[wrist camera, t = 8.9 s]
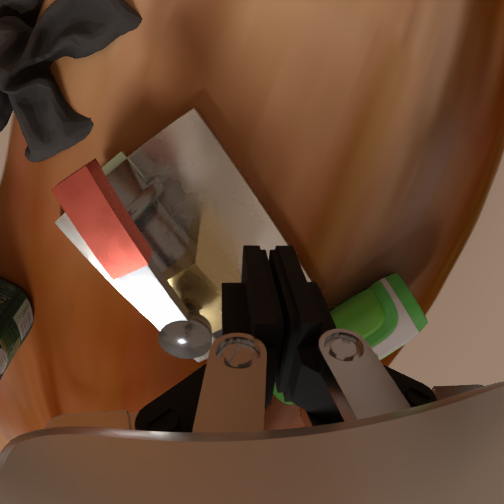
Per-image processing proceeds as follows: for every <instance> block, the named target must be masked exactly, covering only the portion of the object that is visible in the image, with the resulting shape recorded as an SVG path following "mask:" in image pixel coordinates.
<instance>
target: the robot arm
mask: <svg viewBox="0 0 504 504" xmlns="http://www.w3.org/2000/svg"><path fill="white" fill-rule="evenodd" d="M275 384H276V389H277V393H283V396H284V401H285V402H292V403H294V404H296V405H297V406H299V407H300V410H299V411H300V415H301V418H302V420H303V423H304V425H305V427H302V428H293V429H282V430H270V431H264V411H265V409H266V408H267V407H268V406H269V405H270V404H271V399H272V394H273V391H274V385H275ZM0 504H504V382H499V383H494V384H491V385H487V386H483V385H459V386H434V387H433V388H432V390H431V389H430V388H429V387H427V386H426V385H424V384H423V383H420V382H418V381H416V380H414V379H412V378H410V377H408V376H406V375H404V374H401V373H399V372H397V371H395V370H393V369H391V368H389V367H387V366H385V365H383V364H382V363H381V361H380V360H379V359H378V357H377V356H376V354H375V353H374V351H373V350H372V348H371V347H370V346H369V344H368V343H367V341H366V340H365V339H364V338H363V337H362V336H361V335H359V334H358V333H356V332H354V331H351V330H348V329H341V328H340V329H337V328H336V325H335V323H334V321H333V318H332V316H331V314H330V311H329V309H328V307H327V305H326V302H325V300H324V298H323V295H322V293H321V291H320V289H319V286H318V284H317V283H316V282H307V280H306V277H305V275H304V272H303V270H302V268H301V265H300V263H299V260H298V258H297V255H296V253H295V251H294V248H293V246H276V247H275V250H270V252H269V260H268V256H267V252H266V250H261V249H260V245H243V257H242V279H241V283H222V336H221V337H219V338H217V339H216V340H215V341H214V342H213V344H212V346H211V348H210V351H209V356H208V360H207V363H206V364H205V365H204V366H202V367H201V368H199V369H198V370H197V371H195V372H194V373H192V374H191V375H190V376H188V377H187V378H185V379H184V380H182V381H181V382H180V383H178V384H177V385H175V386H174V387H172V388H171V389H169V390H168V391H167V392H165V393H164V394H162V395H161V396H159V397H158V398H156V399H155V400H153V401H152V402H150V403H149V404H147V405H146V406H145V407H144V408H142V409H141V410H140V411H139V412H138V413H128V411H127V410H123V411H113V412H101V413H86V414H65V415H60V416H57V417H55V418H53V419H52V420H50V422H49V423H48V424H47V426H46V428H45V429H40V430H35V431H31V432H28V433H25V434H22V435H19V436H17V437H16V438H14V439H12V440H11V441H10V442H9V443H8V444H7V445H6V446H5V447H4V449H3V450H2V451H1V453H0Z"/></svg>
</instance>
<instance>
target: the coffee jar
mask: <svg viewBox="0 0 504 504" xmlns="http://www.w3.org/2000/svg"><path fill="white" fill-rule="evenodd" d="M32 325H33V310H32V306H31V303H30V301H29V299H28V297H27V296H26V294H25V293H24V291H23V290H22V289H20V288H19V287H17V286H16V285H14V284H12V283H10V282H7V281H5V280H3V279H0V379H1V377H2V376H3V374H4V372H5V370H6V368H7V367H8V365H9V363H10V362H11V360H12V358H13V357H14V355H15V354H16V352H17V351H18V349H19V348H20V346H21V345H22V343H23V341H24V340H25V338H26V337H27V335H28V333H29V332H30V330H31V328H32Z"/></svg>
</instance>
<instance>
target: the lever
mask: <svg viewBox="0 0 504 504" xmlns="http://www.w3.org/2000/svg"><path fill="white" fill-rule="evenodd" d="M52 192H53V193H54V195H55V197H56V198H57V200H58V202H59V203H60V205H61V206H62V208H63V209H64V211H65V213H66V214H67V216H68V217H69V219H70V220H71V222H72V223H73V225H74V226H75V228H76V229H77V231H78V232H79V234H80V235H81V237H82V238H83V240H84V241H85V243H86V244H87V245H88V247H89V248H90V250H91V251H92V252H93V254H94V255H95V257H96V258H97V259H98V261H99V262H100V264H101V265H102V266H103V268H104V269H105V270H106V272H107V273H108V274H109V276H110V277H111V278H112V280H115V279H118V280H119V281H120V283H121V284H122V285H123V287H124V288H125V289H126V290H127V292H128V293H129V294H130V296H131V297H132V298H133V299H134V301H135V302H136V303H137V304H138V306H139V307H140V308H141V309H142V311H143V312H144V313H145V314H146V316H147V317H148V318H149V319H150V320H151V322H152V323H153V324H154V325H155V326H156V328H157V329H158V330H159V331H160V332H159V343H160V345H161V347H162V348H163V349H164V350H165V351H166V352H167V353H169V354H171V355H173V356H175V357H178V358H184V359H192V358H197V357H200V356H203V355H204V354H206V353H207V352H208V351H209V350H210V348H211V346H212V327H211V324H210V322H209V321H208V320H207V319H206V318H205V317H204V316H203V315H201V314H200V311H199V309H198V308H197V307H196V306H194V305H192V304H184V303H183V302H182V301H181V299H180V298H179V296H178V295H177V294H176V292H175V291H174V289H173V288H172V286H171V285H170V284H169V282H168V281H167V279H166V278H165V276H164V275H163V274H162V272H161V271H160V269H159V268H158V266H157V265H156V263H155V262H154V260H153V259H152V257H151V256H152V253H153V251H152V249H151V248H150V246H149V245H148V243H147V242H146V240H145V239H144V237H143V236H142V234H141V232H140V231H139V229H138V228H137V226H136V225H135V223H134V221H133V220H132V218H131V217H130V215H129V213H128V212H127V210H126V209H125V207H124V205H123V204H122V202H121V200H120V199H119V197H118V196H117V194H116V192H115V191H114V189H113V187H112V186H111V184H110V182H109V180H108V179H107V177H106V175H105V174H104V172H103V170H102V168H101V167H100V165H99V163H98V161H97V160H96V158H95V159H94V160H92V161H91V162H89V163H88V164H86V165H84V166H83V167H81V168H80V169H78V170H77V171H76V172H74V173H73V174H71V175H70V176H68V177H67V178H65V179H64V180H63V181H61V182H60V183H59V184H58V185H56V186H55V187H54V188H53V189H52Z"/></svg>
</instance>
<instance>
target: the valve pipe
mask: <svg viewBox="0 0 504 504" xmlns="http://www.w3.org/2000/svg"><path fill="white" fill-rule="evenodd" d="M102 170H103V172H104V174H105V175H106V177H107V179H108V180H109V182H110V184H111V186H112V187H113V189H114V191H115V192H116V194H117V196H118V197H119V199H120V200H121V202H122V204H123V205H124V207H125V209H126V210H127V212H128V213H129V215H130V217H131V218H132V220H133V221H134V223H135V225H136V226H137V228H138V229H139V231H140V232H141V234H142V236H143V237H144V239H145V240H146V242H147V243H148V245H149V246H150V248H151V249H152V251H153V253H152V256H151V257H152V259H153V260H154V262H155V263H156V265H157V266H158V268H159V269H160V271H161V272H162V274H163V275H164V276H165V278H166V279H167V281H168V282H169V284H170V285H171V286H172V288H173V289H174V291H175V292H176V294H177V295H178V296H179V298H180V299H181V301H182V302H183V303H184V304H192V305H194V306H196V307H197V308H198V309H199V311H200V314H201V315H203V316H204V317H205V318H206V319H207V320H208V321H209V322H210V324H211V327H212V344H213V342H214V341H215V340H216V339H217V338H219V337H221V336H222V283H241V279H242V257H243V245H260V249H261V250H266V252H267V256H268V260H269V252H270V250H275V247H276V246H290V245H289V243H288V242H287V240H286V239H285V237H284V236H283V234H282V233H281V231H280V230H279V228H278V226H277V225H276V223H275V222H274V220H273V219H272V217H271V216H270V214H269V213H268V211H267V210H266V208H265V207H264V205H263V204H262V202H261V201H260V199H259V198H258V196H257V195H256V193H255V192H254V190H253V189H252V187H251V186H250V185H249V183H248V182H247V180H246V179H245V177H244V176H243V174H242V173H241V171H240V170H239V168H238V167H237V165H236V164H235V163H234V161H233V160H232V158H231V157H230V155H229V154H228V152H227V151H226V149H225V148H224V147H223V145H222V144H221V142H220V141H219V139H218V138H217V137H216V135H215V134H214V132H213V131H212V129H211V128H210V127H209V125H208V124H207V122H206V121H205V119H204V118H203V117H202V115H201V114H200V112H199V111H198V110H197V108H196V107H194V108H193V109H191V110H190V111H188V112H187V113H185V114H184V115H182V116H181V117H180V118H178V119H177V120H175V121H174V122H172V123H171V124H170V125H168V126H167V127H166V128H164V129H163V130H161V131H160V132H159V133H157V134H156V135H155V136H153V137H152V138H151V139H149V140H148V141H147V142H145V143H144V144H143V145H142V146H140V147H139V148H138V149H136V150H135V151H134V152H133V153H131V154H130V155H129V156H128V157H127V156H126V155H125V154H124V152H123V151H121V152H120V153H119V154H117V155H116V156H115V157H114V158H113V159H111V160H110V161H109V162H108V163H107V164H106V165H104V166H103V167H102ZM55 223H56V225H57V226H58V227H59V228H60V229H61V230H62V231H63V233H64V234H65V235H66V236H67V237H68V238H69V239H70V240H71V242H72V243H73V244H74V245H75V246H76V247H77V248H78V249H79V250H80V252H81V253H82V254H83V255H84V256H85V257H86V258H87V259H88V260H89V261H90V262H91V263H92V264H93V265H94V266H95V267H96V269H97V270H98V271H99V272H100V273H101V274H102V275H103V276H104V277H105V278H106V279H107V280H108V281H109V282H110V283H111V284H112V285H113V286H114V287H115V288H116V289H117V290H118V291H119V292H120V293H121V294H122V295H123V296H124V297H125V298H126V299H127V300H128V301H129V302H130V303H132V304H133V305H134V306H135V307H136V308H137V309H138V310H139V311H140V312H141V313H142V314H143V315H144V316H145V317H146V318H148V317H147V316H146V314H145V313H144V312H143V311H142V309H141V308H140V307H139V306H138V304H137V303H136V302H135V301H134V299H133V298H132V297H131V296H130V294H129V293H128V292H127V290H126V289H125V288H124V287H123V285H122V284H121V283H120V281H119V280H118V279H115V280H112V278H111V277H110V276H109V274H108V273H107V272H106V270H105V269H104V268H103V266H102V265H101V264H100V262H99V261H98V259H97V258H96V257H95V255H94V254H93V252H92V251H91V250H90V248H89V247H88V245H87V244H86V243H85V241H84V240H83V238H82V237H81V235H80V234H79V232H78V231H77V229H76V228H75V226H74V225H73V223H72V222H71V220H70V219H69V217H68V216H67V214H66V213H65V212H64V213H63V214H62V215H61V216H60V217H59V218H58V220H57V221H56V222H55ZM297 258H298V257H297ZM298 260H299V259H298ZM299 263H300V265H301V268H302V270H303V272H304V275H305V277H306V280H307V282H313V281H312V279H311V278H310V276H309V274H308V273H307V271H306V270H305V268H304V267H303V265H302V263H301V262H300V260H299ZM148 319H149V318H148ZM149 320H150V319H149ZM150 321H151V320H150ZM209 351H210V350H209ZM209 351H208V352H207V353H206V354H204V355H203V356H200V357H197V358H193V359H194V360H196V361H197V362H200V361H203V360H205V359H207V358H208V356H209Z"/></svg>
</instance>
